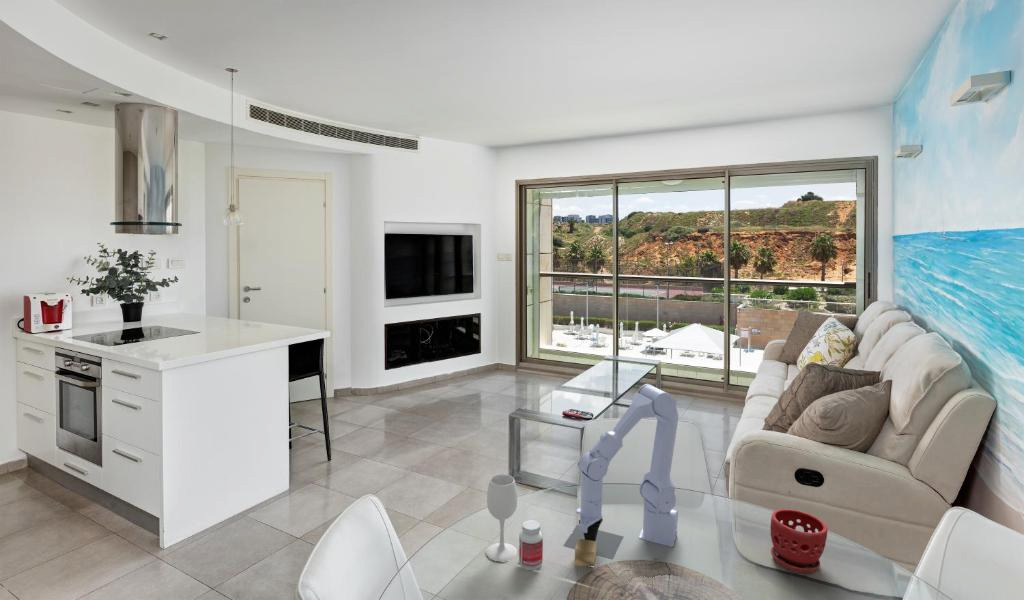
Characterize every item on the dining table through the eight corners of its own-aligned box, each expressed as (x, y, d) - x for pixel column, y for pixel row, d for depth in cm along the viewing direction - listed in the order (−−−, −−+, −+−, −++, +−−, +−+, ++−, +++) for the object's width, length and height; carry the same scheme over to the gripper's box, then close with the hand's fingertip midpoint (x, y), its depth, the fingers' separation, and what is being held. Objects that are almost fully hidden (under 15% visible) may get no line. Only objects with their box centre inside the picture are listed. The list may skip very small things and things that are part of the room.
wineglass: (522, 548, 149) (523, 476, 146) (509, 566, 141) (510, 490, 138) (494, 540, 152) (495, 470, 150) (480, 557, 145) (480, 483, 142)
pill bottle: (547, 566, 141) (547, 526, 140) (527, 574, 138) (528, 533, 136) (533, 554, 146) (533, 516, 145) (514, 561, 143) (514, 522, 141)
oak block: (595, 558, 145) (596, 541, 144) (593, 570, 140) (594, 552, 139) (577, 555, 146) (577, 538, 145) (574, 566, 141) (575, 549, 140)
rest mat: (623, 537, 154) (623, 536, 154) (612, 560, 144) (612, 559, 144) (577, 525, 160) (577, 524, 160) (563, 547, 150) (563, 545, 150)
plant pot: (822, 584, 135) (826, 539, 133) (765, 566, 142) (768, 523, 140) (825, 558, 146) (828, 516, 144) (771, 542, 153) (774, 502, 151)
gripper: (585, 483, 155) (584, 527, 157) (568, 506, 142) (567, 554, 144) (609, 488, 152) (608, 533, 154) (594, 512, 139) (593, 561, 141)
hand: (590, 544), depth 148 cm, fingers closed
